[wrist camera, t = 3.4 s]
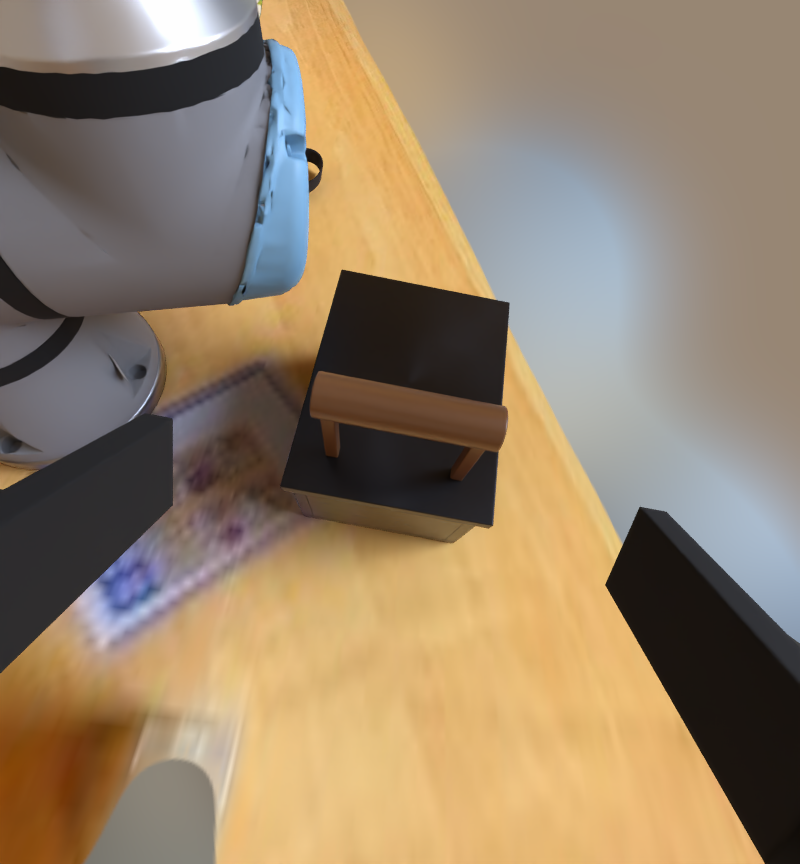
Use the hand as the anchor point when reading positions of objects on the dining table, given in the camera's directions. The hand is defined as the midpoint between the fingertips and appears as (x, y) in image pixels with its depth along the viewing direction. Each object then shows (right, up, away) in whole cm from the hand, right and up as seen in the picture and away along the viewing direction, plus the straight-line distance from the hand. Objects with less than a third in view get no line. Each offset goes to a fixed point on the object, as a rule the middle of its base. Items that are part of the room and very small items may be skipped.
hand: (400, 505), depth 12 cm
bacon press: (0, +5, +15) cm, 16 cm away
